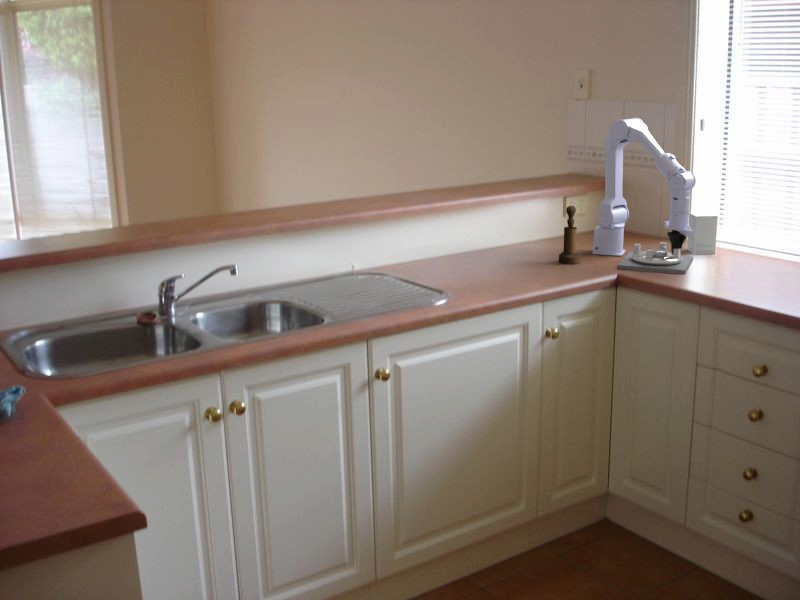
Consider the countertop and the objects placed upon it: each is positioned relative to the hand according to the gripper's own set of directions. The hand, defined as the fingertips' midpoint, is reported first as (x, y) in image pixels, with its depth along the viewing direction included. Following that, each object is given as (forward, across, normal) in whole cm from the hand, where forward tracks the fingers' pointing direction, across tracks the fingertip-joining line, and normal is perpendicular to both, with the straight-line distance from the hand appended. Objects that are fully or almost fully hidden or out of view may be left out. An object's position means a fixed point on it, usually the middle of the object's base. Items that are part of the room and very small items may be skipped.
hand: (676, 254), depth 293 cm
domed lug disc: (+2, -3, -5) cm, 6 cm away
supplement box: (+4, -15, +17) cm, 23 cm away
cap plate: (+3, -3, -5) cm, 7 cm away
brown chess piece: (+4, -12, -30) cm, 33 cm away
